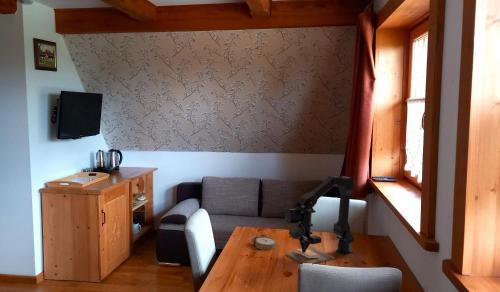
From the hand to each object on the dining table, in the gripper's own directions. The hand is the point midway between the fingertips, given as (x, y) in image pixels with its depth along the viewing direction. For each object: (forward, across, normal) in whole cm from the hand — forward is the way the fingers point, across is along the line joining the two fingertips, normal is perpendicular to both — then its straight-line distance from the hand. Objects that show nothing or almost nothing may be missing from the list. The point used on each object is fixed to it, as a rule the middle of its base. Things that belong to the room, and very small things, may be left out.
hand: (303, 252), depth 193 cm
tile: (0, 0, +2) cm, 2 cm away
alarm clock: (+4, -25, -7) cm, 27 cm away
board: (+3, 0, +4) cm, 5 cm away
